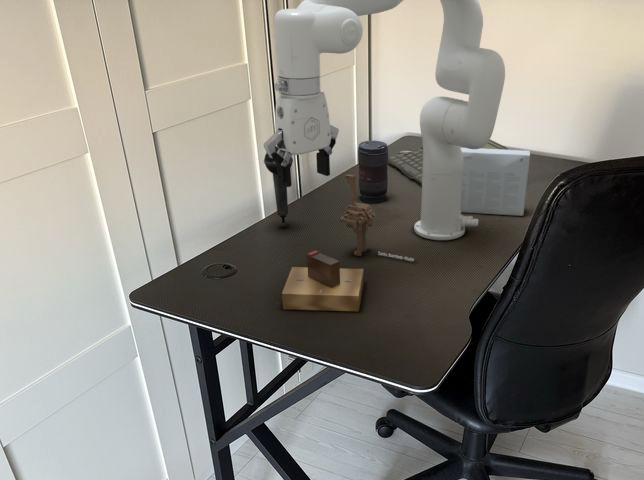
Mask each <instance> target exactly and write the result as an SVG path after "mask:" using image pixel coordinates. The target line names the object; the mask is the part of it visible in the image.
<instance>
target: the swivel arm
mask: <svg viewBox="0 0 644 480" xmlns="http://www.w3.org/2000/svg"><path fill="white" fill-rule="evenodd" d="M306 267H308V277H309V278H311V279H313V280H316V281H318V282H320V283H322V284H324V285H326V286H329V287H331V288H332V287H335V286H337V285H339V284H340V260H338V259H335V258H333V257H330V256H328V255H326V254H323V253H321V252H320V251H319V250H313V251H311V252H308V253H307V254H306Z"/></svg>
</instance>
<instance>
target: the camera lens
mask: <svg viewBox="0 0 644 480" xmlns="http://www.w3.org/2000/svg"><path fill="white" fill-rule="evenodd" d="M388 157H389V147H388V143H386V142H385V141H381V140H365V141H362V142H359V144H358V148H357V162H358V163H357V164H358V189H359V194H360V198H361V200H362V201H363V202H367V203H381V202H383V201H385V200H386V195H387V194H388V186H389V185H388V181H389V179H388V165H389V162H388Z"/></svg>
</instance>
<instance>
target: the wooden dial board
mask: <svg viewBox="0 0 644 480" xmlns="http://www.w3.org/2000/svg"><path fill="white" fill-rule="evenodd" d="M364 273H365V272H364V268H345V267H344V268H342V267H341V268H340V284H339V285H337V286H335V287H332V288H331V287H329V286H326V285H324V284H322V283H320V282H318V281H316V280H313V279H311V278H309V277H308V267H307V266H306V267H303V266H301V267H300V266H292V267H291V269H290V271H289V274H288V277H287V279H286V281H285V284H284V287H283V290H282V292H281V300H282V301H281V303H282V309H283V310H297V311H298V310H300V311H327V312H328V311H329V312H331V311H332V312H360V306H361V302H362V296H363V291H364V284H365V283H364V281H365V279H364V278H365V277H364Z"/></svg>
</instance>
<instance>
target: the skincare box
mask: <svg viewBox="0 0 644 480" xmlns="http://www.w3.org/2000/svg"><path fill="white" fill-rule="evenodd" d="M461 150H462V154H463V175H462V189H461V204H460V210H461V213H468V214H485V215H500V216H501V215H502V216H503V215H504V216H520V217H523V216H524V214H525V205H526V198H527V197H526V196H527V187H528V179H529V178H528V177H529V169H530V159H531V151H530V150H523V149H522V150H521V149H508V150H503V149H481V148H480V149H468V148H461Z"/></svg>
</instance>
